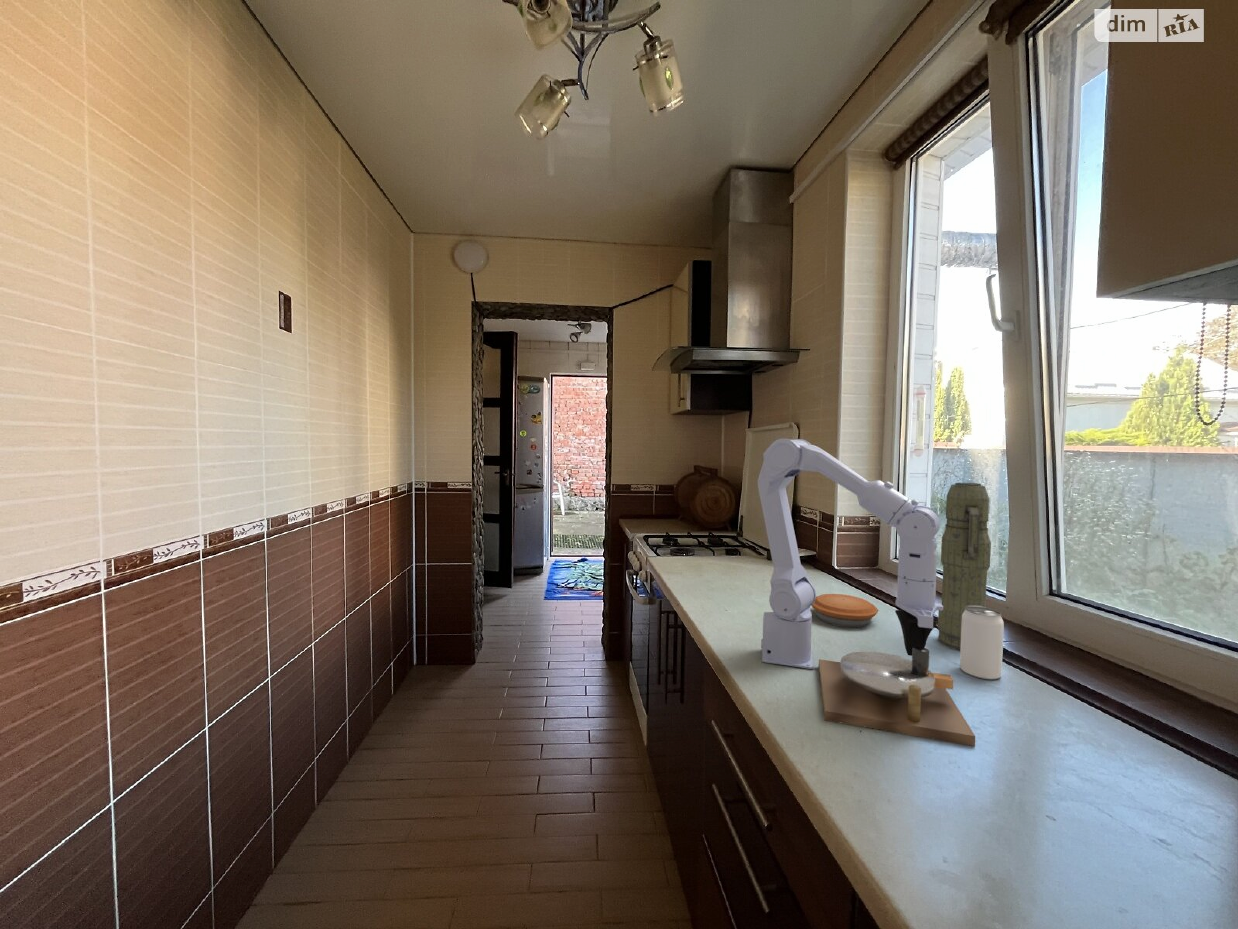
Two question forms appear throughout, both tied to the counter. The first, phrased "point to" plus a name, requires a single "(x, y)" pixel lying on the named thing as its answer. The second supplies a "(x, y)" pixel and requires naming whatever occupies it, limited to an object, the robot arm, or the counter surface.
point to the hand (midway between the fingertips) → (913, 654)
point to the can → (981, 642)
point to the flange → (893, 673)
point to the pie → (844, 610)
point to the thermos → (963, 558)
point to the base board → (892, 709)
